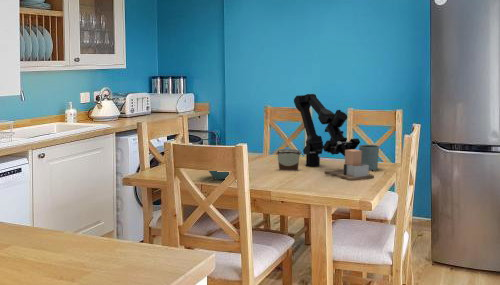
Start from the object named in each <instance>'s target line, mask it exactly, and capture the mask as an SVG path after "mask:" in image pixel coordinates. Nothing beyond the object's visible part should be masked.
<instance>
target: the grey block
mask: <svg viewBox="0 0 500 285" xmlns="http://www.w3.org/2000/svg"><path fill="white" fill-rule="evenodd" d="M343 169H344V175H348V176H351V177H363V176H368V175H369V174H370V173H369V165H365V164H361V166H353V165H349V164H345V163H344V164H343Z"/></svg>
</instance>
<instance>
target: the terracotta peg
mask: <svg viewBox="0 0 500 285" xmlns="http://www.w3.org/2000/svg"><path fill="white" fill-rule="evenodd" d="M361 154H362V151H360V150H359V149H350V150H345V156H344V164H349V165H353V166H361Z"/></svg>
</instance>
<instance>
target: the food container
mask: <svg viewBox="0 0 500 285" xmlns="http://www.w3.org/2000/svg"><path fill="white" fill-rule="evenodd" d="M276 155H277V161H278V163H277V164H278V171H293V172H294V171H296V172H297V171H299V165H300V164H299V163H300V156H301V155H302V154H301V151H300V150H299V149H290V148H284V149H278V150H277V151H276Z"/></svg>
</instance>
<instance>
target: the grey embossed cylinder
mask: <svg viewBox="0 0 500 285" xmlns="http://www.w3.org/2000/svg"><path fill="white" fill-rule="evenodd" d="M358 150H360V151H362V154H361V164H365V165H369V171H370V172H371V171H372V170H374V171H377V170H378V169H379V168H378V165H379V154H380V153H379V151H380V145H378V144H361V145H358Z"/></svg>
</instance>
